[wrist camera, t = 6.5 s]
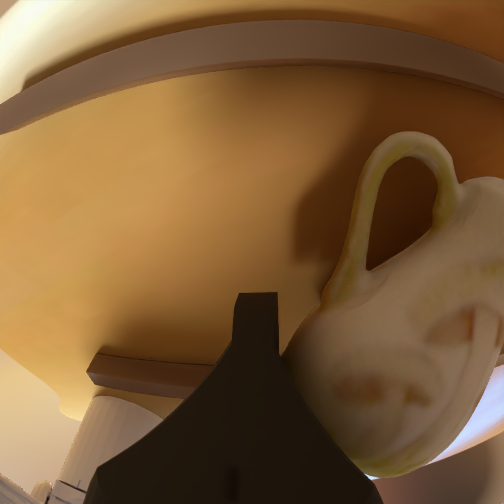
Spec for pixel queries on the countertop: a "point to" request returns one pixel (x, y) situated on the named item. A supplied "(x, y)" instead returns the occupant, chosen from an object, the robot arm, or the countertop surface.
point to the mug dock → (236, 57)
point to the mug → (407, 321)
